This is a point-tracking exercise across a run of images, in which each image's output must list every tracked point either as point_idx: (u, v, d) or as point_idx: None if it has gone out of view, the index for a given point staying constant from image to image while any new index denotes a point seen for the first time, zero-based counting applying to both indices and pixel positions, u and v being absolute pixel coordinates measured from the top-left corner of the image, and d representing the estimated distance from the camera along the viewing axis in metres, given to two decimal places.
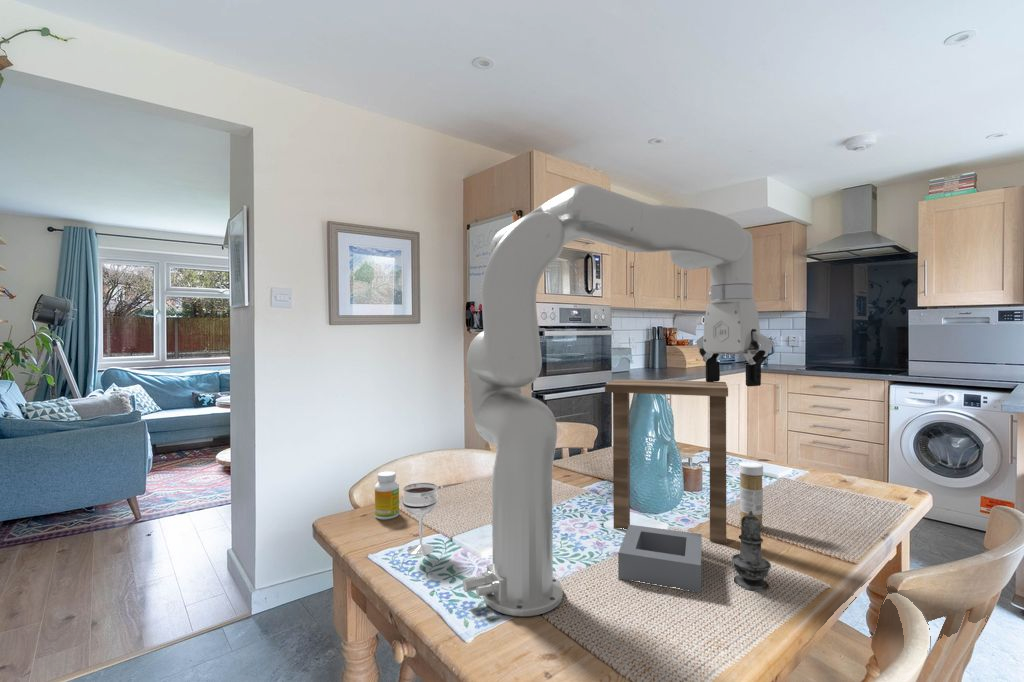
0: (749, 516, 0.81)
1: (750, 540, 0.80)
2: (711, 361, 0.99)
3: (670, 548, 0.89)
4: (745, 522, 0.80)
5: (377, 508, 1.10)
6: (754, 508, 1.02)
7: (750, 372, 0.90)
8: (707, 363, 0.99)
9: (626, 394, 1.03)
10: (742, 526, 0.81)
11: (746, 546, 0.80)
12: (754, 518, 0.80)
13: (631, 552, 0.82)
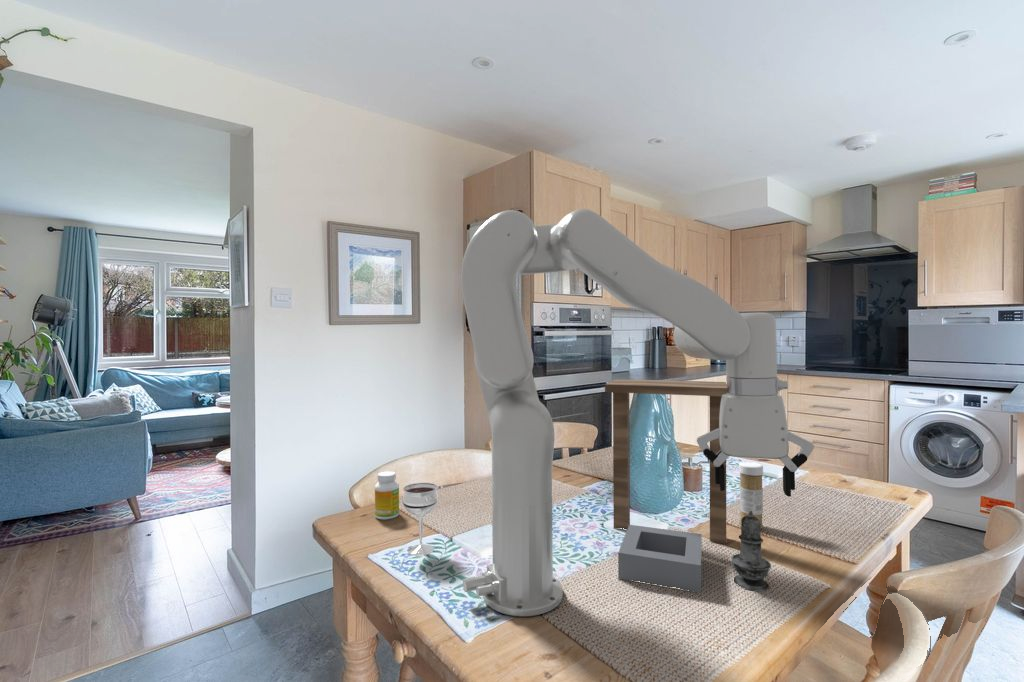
0: (749, 516, 0.81)
1: (750, 540, 0.80)
2: (784, 467, 0.80)
3: (670, 548, 0.89)
4: (745, 522, 0.80)
5: (377, 508, 1.10)
6: (754, 508, 1.02)
7: None
8: None
9: (626, 394, 1.03)
10: (742, 526, 0.81)
11: (746, 546, 0.80)
12: (754, 518, 0.80)
13: (631, 552, 0.82)
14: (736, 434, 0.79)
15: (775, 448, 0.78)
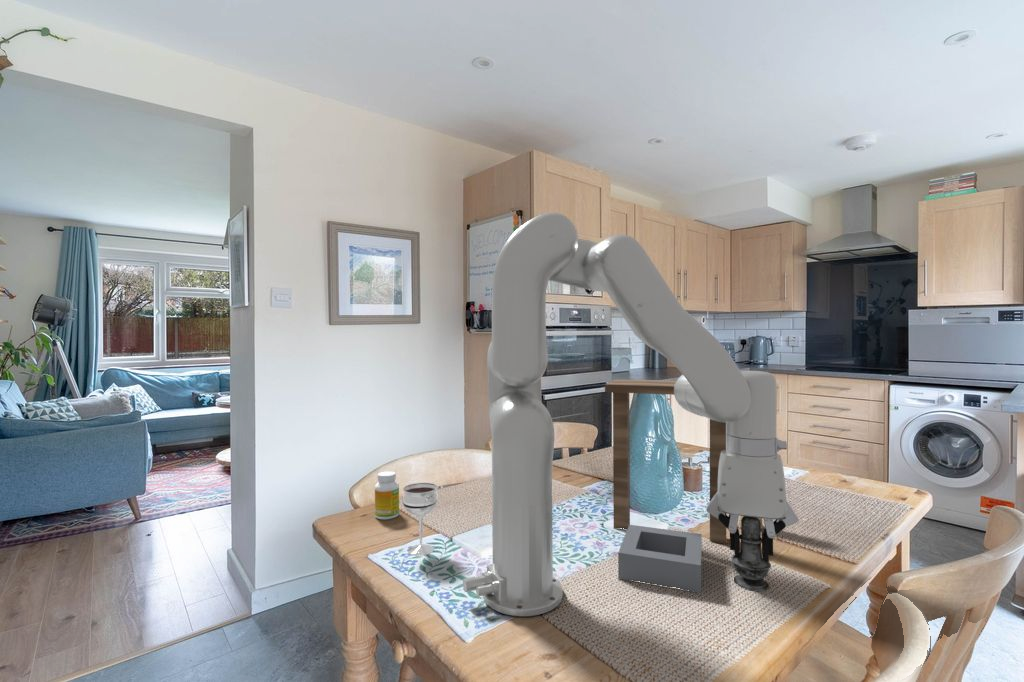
0: None
1: (750, 540, 0.80)
2: (763, 532, 0.81)
3: (670, 548, 0.89)
4: (745, 522, 0.80)
5: (377, 508, 1.10)
6: None
7: None
8: None
9: (626, 394, 1.03)
10: (742, 526, 0.81)
11: (746, 546, 0.80)
12: (754, 518, 0.80)
13: (631, 552, 0.82)
14: (735, 492, 0.79)
15: (773, 509, 0.78)
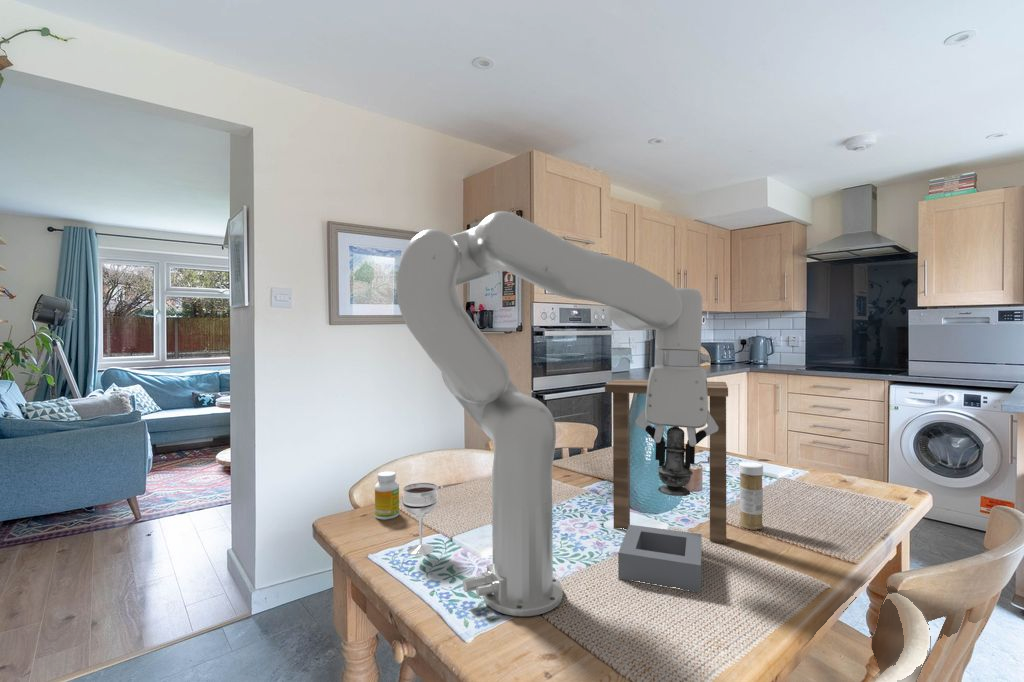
0: (674, 427, 0.84)
1: (673, 448, 0.83)
2: (687, 443, 0.84)
3: (670, 548, 0.89)
4: (669, 432, 0.84)
5: (377, 508, 1.10)
6: (754, 508, 1.02)
7: None
8: None
9: (626, 394, 1.03)
10: (667, 436, 0.85)
11: (670, 454, 0.84)
12: (678, 428, 0.84)
13: (631, 552, 0.82)
14: (660, 403, 0.83)
15: (694, 417, 0.81)
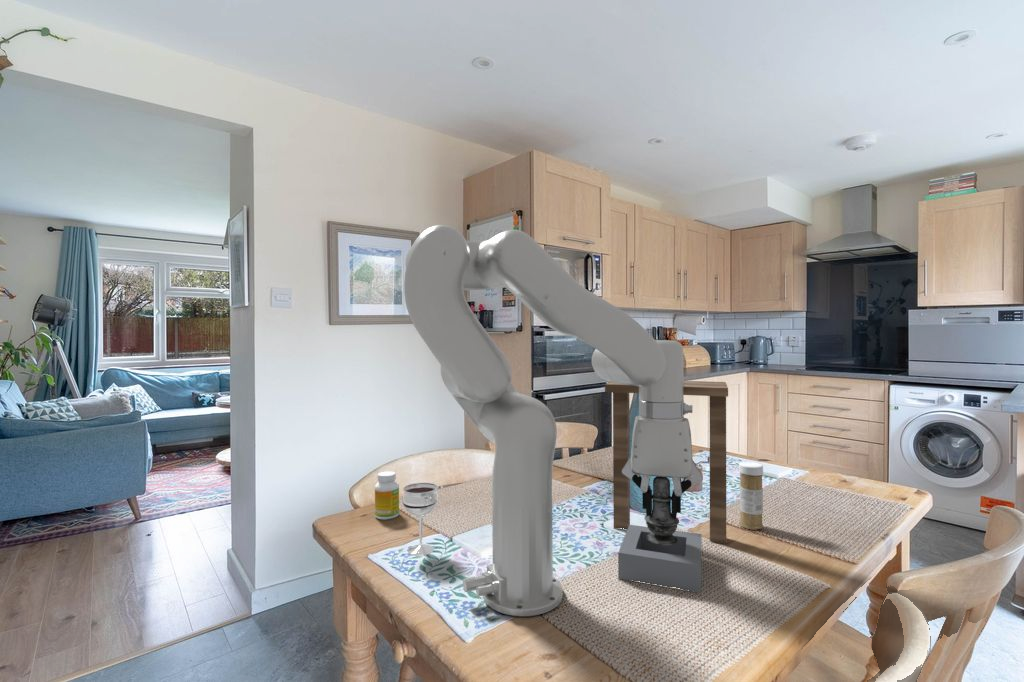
0: None
1: (660, 498, 0.85)
2: (673, 491, 0.86)
3: (670, 548, 0.89)
4: (655, 481, 0.85)
5: (377, 508, 1.10)
6: (754, 508, 1.02)
7: None
8: None
9: (626, 394, 1.03)
10: (653, 485, 0.86)
11: (656, 504, 0.85)
12: (664, 478, 0.85)
13: (631, 552, 0.82)
14: (645, 454, 0.85)
15: (679, 468, 0.83)
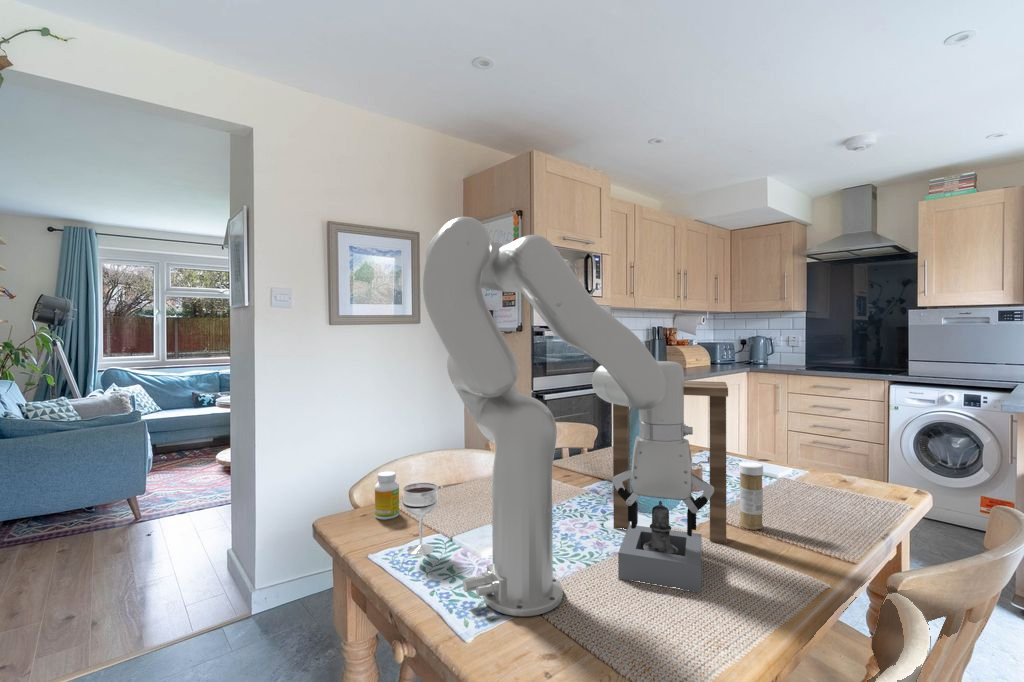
0: (658, 506, 0.86)
1: (658, 528, 0.85)
2: (688, 508, 0.85)
3: None
4: (654, 511, 0.85)
5: (377, 508, 1.10)
6: (754, 508, 1.02)
7: None
8: None
9: None
10: (652, 515, 0.86)
11: (655, 533, 0.85)
12: (663, 508, 0.85)
13: (631, 552, 0.82)
14: (645, 475, 0.85)
15: (679, 490, 0.83)
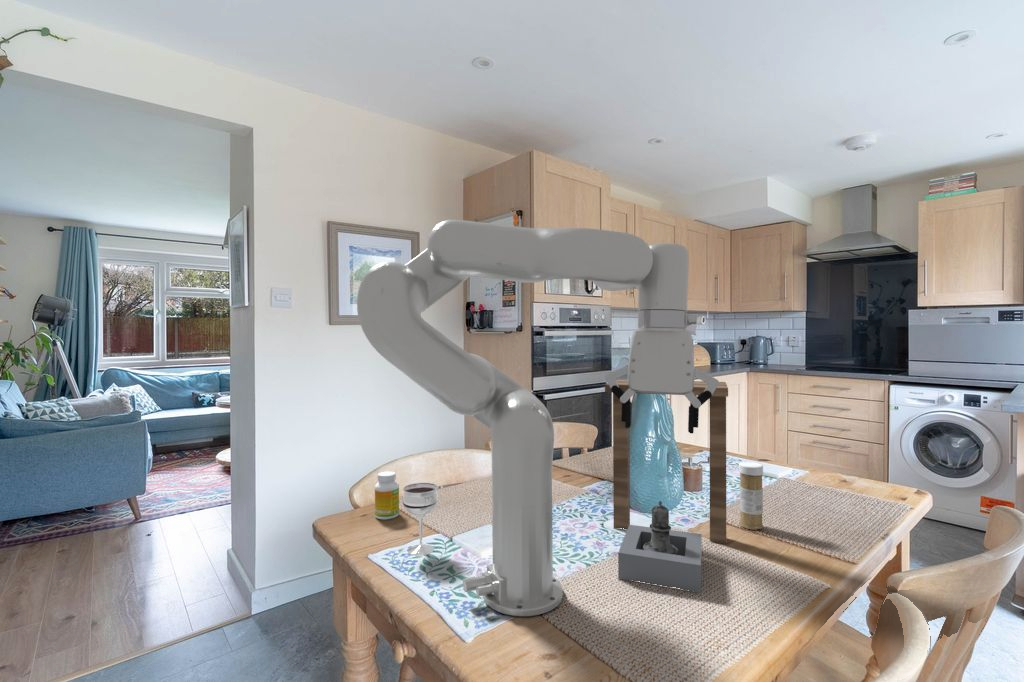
0: (658, 506, 0.86)
1: (658, 528, 0.85)
2: (690, 405, 0.77)
3: None
4: (654, 511, 0.85)
5: (377, 508, 1.10)
6: (754, 508, 1.02)
7: None
8: None
9: None
10: (652, 515, 0.86)
11: (655, 533, 0.85)
12: (662, 507, 0.85)
13: (631, 552, 0.82)
14: (643, 368, 0.77)
15: (680, 383, 0.75)
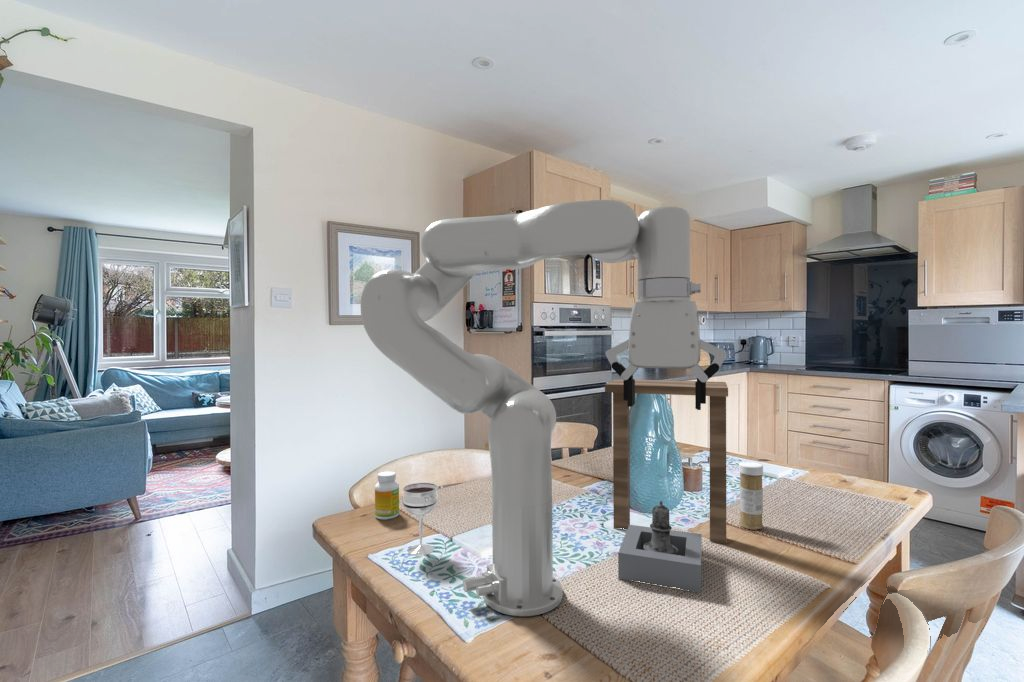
0: (659, 506, 0.86)
1: (659, 528, 0.85)
2: (697, 380, 0.72)
3: None
4: (655, 511, 0.85)
5: (377, 508, 1.10)
6: (754, 508, 1.02)
7: None
8: None
9: None
10: (652, 515, 0.86)
11: (655, 533, 0.85)
12: (663, 507, 0.85)
13: (631, 552, 0.82)
14: (644, 341, 0.72)
15: (684, 356, 0.70)
